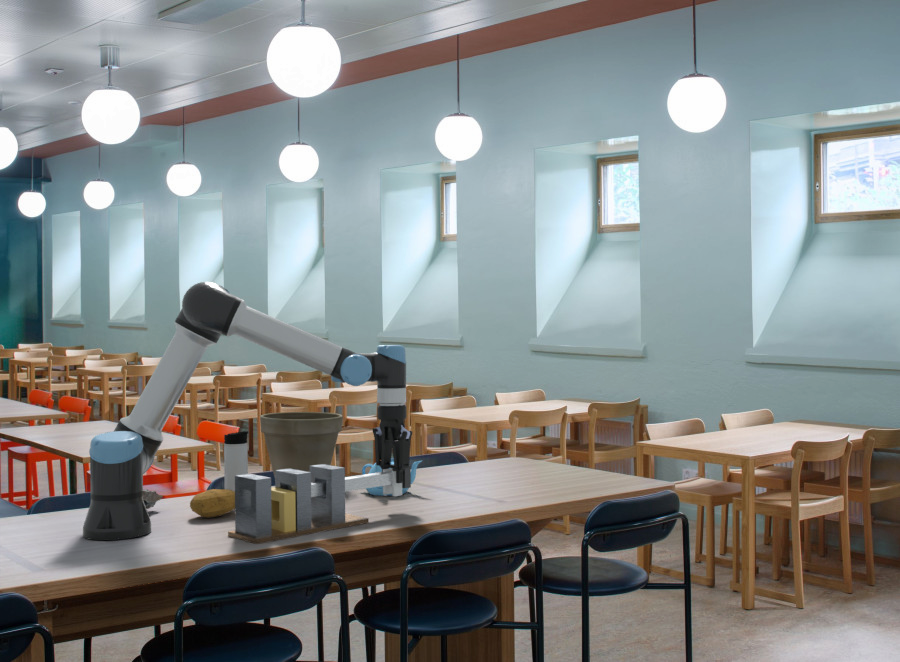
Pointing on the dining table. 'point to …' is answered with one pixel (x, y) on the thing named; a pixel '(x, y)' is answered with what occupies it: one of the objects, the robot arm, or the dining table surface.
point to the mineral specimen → (150, 498)
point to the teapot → (377, 469)
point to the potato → (213, 502)
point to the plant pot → (300, 438)
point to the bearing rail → (310, 511)
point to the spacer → (283, 509)
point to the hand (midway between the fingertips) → (392, 494)
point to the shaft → (363, 482)
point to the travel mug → (235, 457)
